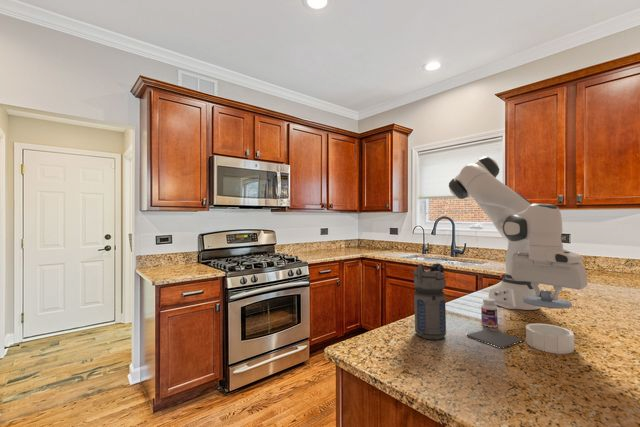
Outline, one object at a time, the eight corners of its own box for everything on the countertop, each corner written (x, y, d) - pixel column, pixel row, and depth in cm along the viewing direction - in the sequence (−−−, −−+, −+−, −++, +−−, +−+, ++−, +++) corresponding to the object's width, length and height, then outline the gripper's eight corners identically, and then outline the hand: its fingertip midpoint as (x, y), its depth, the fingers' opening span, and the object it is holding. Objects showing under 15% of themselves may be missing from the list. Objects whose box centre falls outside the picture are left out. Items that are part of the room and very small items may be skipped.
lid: (514, 301, 101) (513, 289, 101) (536, 296, 107) (536, 285, 107) (558, 311, 90) (558, 297, 90) (580, 304, 96) (580, 292, 96)
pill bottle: (479, 325, 117) (479, 299, 118) (483, 322, 121) (483, 296, 122) (495, 328, 114) (495, 302, 114) (499, 325, 118) (498, 299, 118)
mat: (466, 336, 107) (466, 334, 107) (488, 330, 113) (488, 328, 113) (501, 349, 96) (501, 347, 96) (523, 341, 102) (523, 339, 102)
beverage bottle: (456, 334, 109) (454, 262, 109) (433, 344, 101) (431, 266, 101) (430, 326, 117) (429, 259, 117) (407, 335, 109) (406, 263, 110)
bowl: (518, 343, 101) (517, 327, 101) (539, 336, 106) (538, 321, 106) (561, 357, 90) (560, 339, 90) (581, 348, 96) (581, 332, 96)
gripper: (506, 252, 107) (507, 293, 106) (578, 258, 88) (579, 307, 88) (517, 251, 110) (518, 290, 109) (589, 256, 91) (590, 304, 91)
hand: (546, 298), depth 99 cm, fingers closed on lid, 3 cm apart
